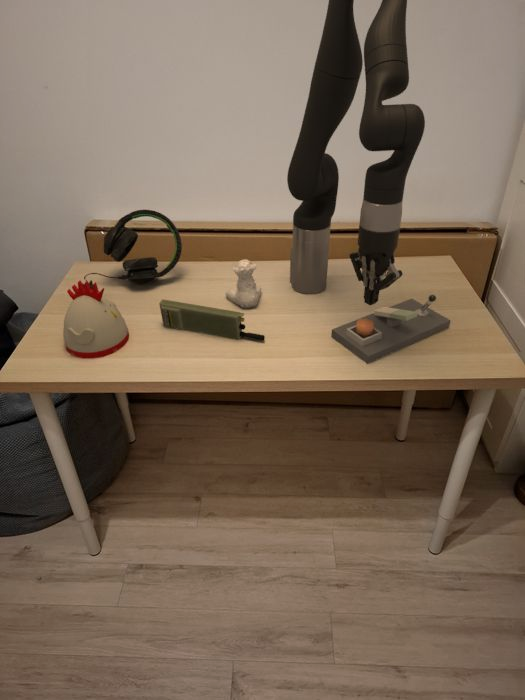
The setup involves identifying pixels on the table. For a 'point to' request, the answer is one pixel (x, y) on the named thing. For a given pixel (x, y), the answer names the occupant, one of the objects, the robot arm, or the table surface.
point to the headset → (122, 243)
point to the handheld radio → (205, 320)
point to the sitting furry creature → (245, 285)
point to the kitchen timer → (93, 324)
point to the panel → (390, 332)
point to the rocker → (395, 313)
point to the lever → (428, 302)
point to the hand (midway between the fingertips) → (370, 302)
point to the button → (364, 327)
